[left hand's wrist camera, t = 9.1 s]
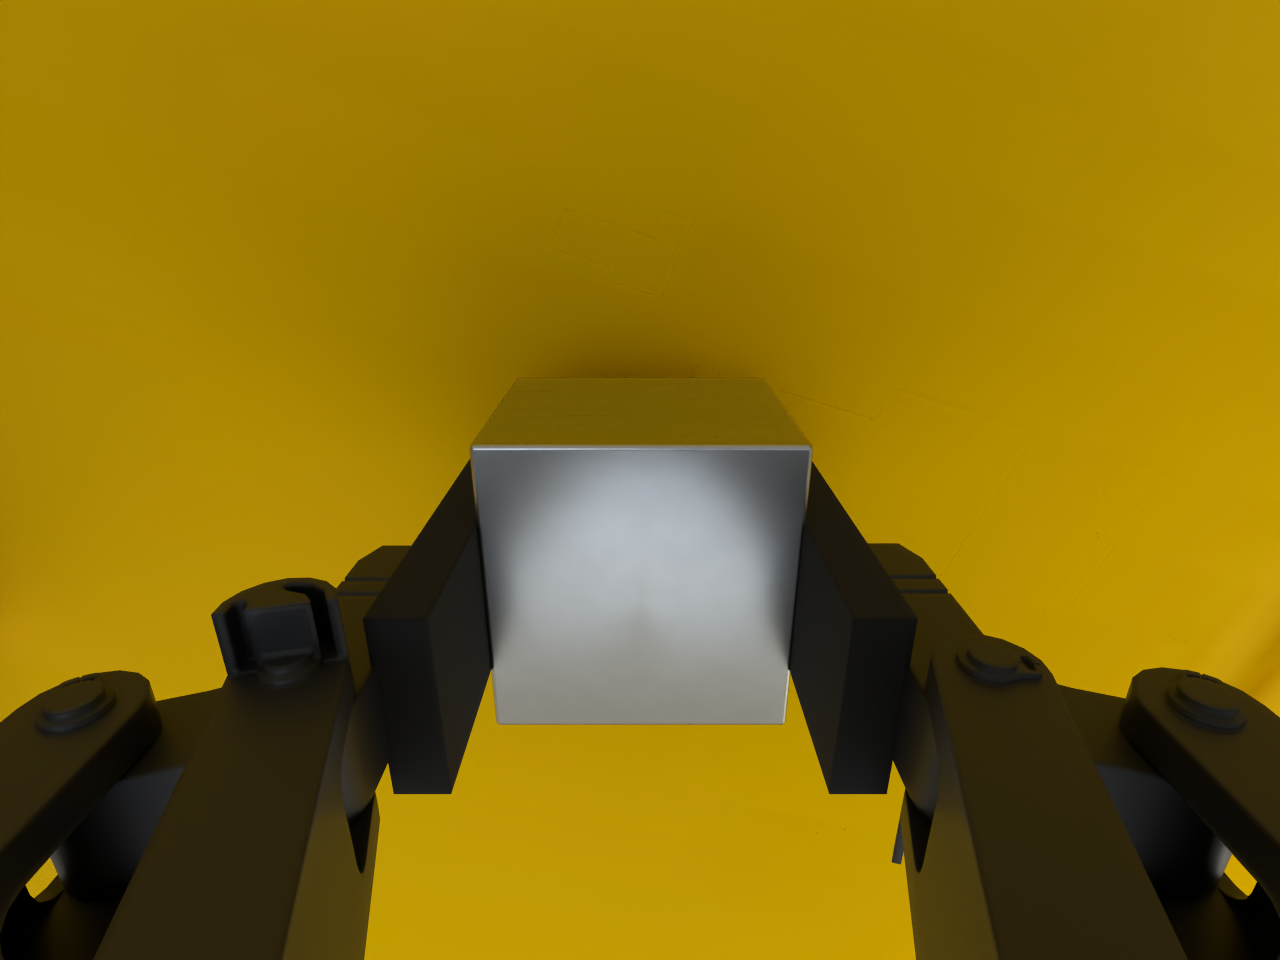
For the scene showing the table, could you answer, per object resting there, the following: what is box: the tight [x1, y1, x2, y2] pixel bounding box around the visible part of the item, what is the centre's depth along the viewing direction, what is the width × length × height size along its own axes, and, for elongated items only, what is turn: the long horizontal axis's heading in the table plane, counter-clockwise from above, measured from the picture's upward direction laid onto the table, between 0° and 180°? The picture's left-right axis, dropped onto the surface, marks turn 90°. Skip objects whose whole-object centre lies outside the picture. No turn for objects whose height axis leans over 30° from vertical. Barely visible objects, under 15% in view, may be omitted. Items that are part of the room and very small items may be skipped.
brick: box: [469, 378, 813, 725], centre depth 13 cm, size 5×5×4 cm
